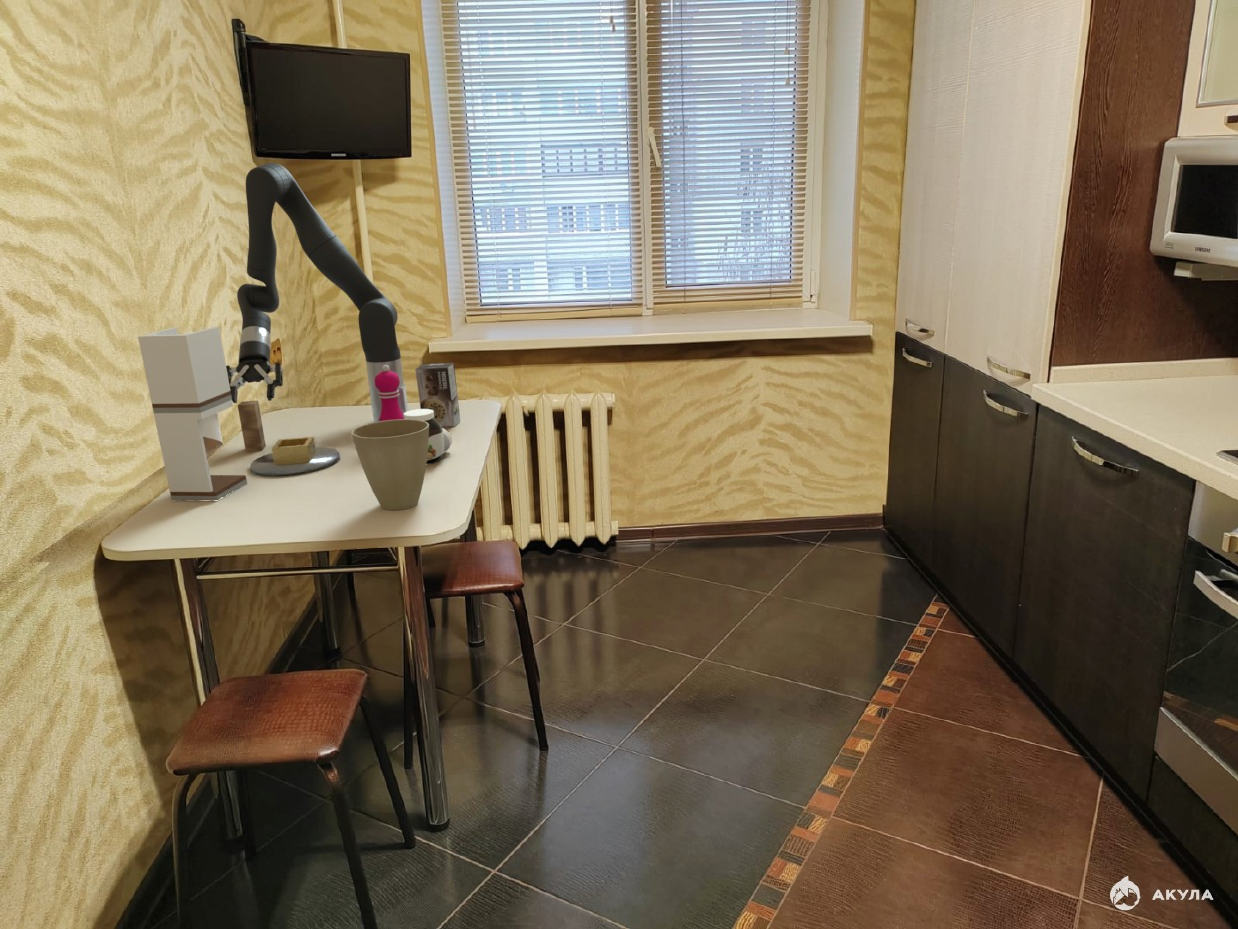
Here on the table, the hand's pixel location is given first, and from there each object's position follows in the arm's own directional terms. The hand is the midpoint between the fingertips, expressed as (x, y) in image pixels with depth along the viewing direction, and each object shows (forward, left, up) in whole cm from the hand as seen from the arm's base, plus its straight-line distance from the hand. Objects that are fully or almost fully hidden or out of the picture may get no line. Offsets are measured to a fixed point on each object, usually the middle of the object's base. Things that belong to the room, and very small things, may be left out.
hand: (251, 400), depth 230 cm
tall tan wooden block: (0, +5, -12) cm, 12 cm away
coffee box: (-46, -5, -12) cm, 48 cm away
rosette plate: (-13, +22, -12) cm, 28 cm away
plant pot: (-40, +59, -12) cm, 72 cm away
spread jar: (-44, +27, -12) cm, 53 cm away
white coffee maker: (+2, +39, -12) cm, 40 cm away
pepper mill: (-35, +11, -12) cm, 39 cm away
